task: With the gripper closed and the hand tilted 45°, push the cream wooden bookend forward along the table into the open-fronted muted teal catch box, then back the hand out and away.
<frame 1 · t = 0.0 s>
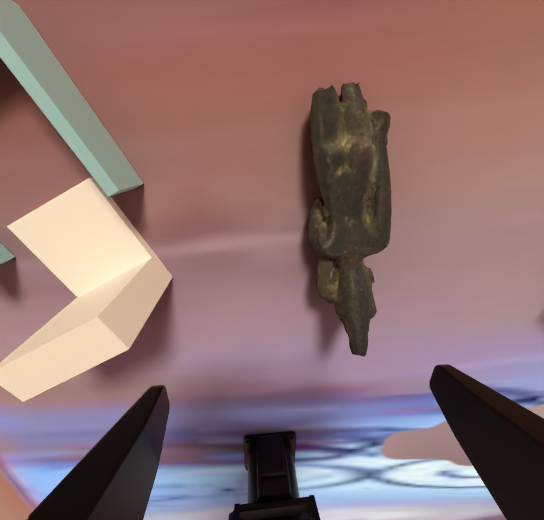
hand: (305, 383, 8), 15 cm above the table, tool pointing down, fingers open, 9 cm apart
catch box: (20, 162, 18), on the table
bookend: (99, 252, 21), on the table
statue: (338, 220, 22), on the table
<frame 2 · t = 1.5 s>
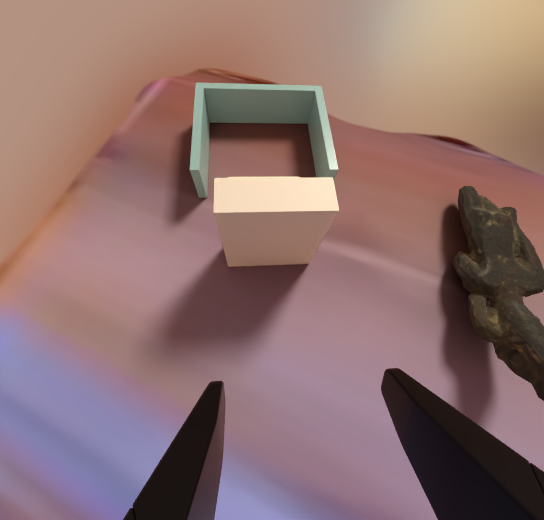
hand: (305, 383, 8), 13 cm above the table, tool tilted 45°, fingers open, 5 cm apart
catch box: (261, 159, 28), on the table
bookend: (266, 220, 25), on the table
statue: (473, 283, 24), on the table
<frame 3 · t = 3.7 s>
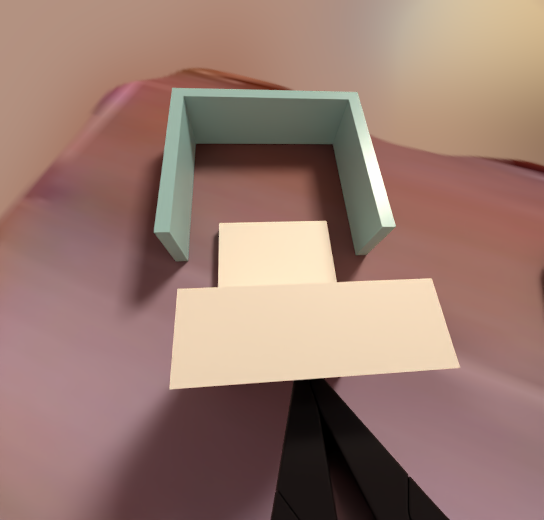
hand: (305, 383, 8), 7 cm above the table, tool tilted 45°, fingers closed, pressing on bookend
catch box: (269, 197, 19), on the table
bookend: (277, 291, 16), on the table, touching gripper
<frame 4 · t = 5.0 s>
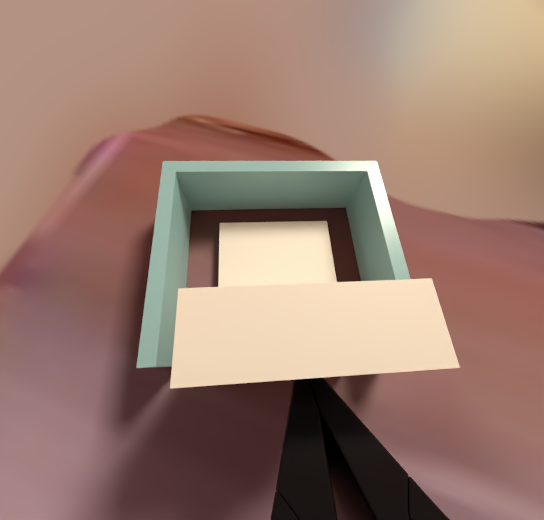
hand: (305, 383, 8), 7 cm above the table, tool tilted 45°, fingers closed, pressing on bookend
catch box: (275, 278, 17), on the table
bookend: (277, 291, 16), on the table, touching gripper
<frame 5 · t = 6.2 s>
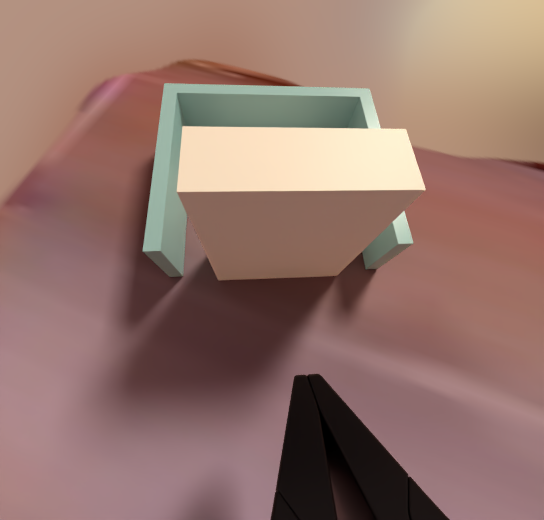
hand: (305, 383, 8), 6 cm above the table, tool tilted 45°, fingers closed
catch box: (272, 204, 18), on the table
bookend: (273, 212, 18), on the table
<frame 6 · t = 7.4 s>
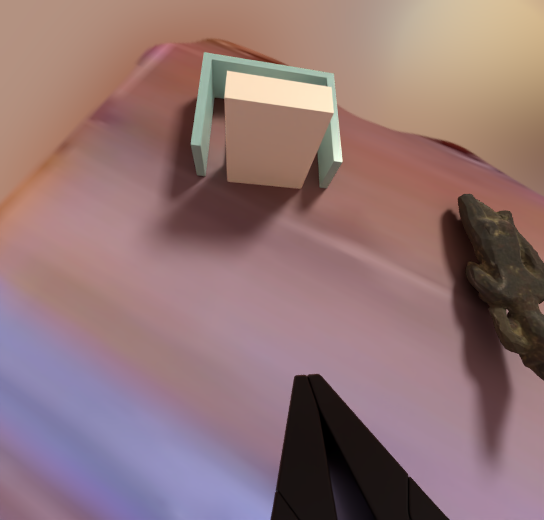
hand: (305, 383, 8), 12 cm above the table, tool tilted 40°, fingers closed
catch box: (265, 142, 27), on the table
bookend: (265, 147, 27), on the table
statue: (482, 288, 25), on the table
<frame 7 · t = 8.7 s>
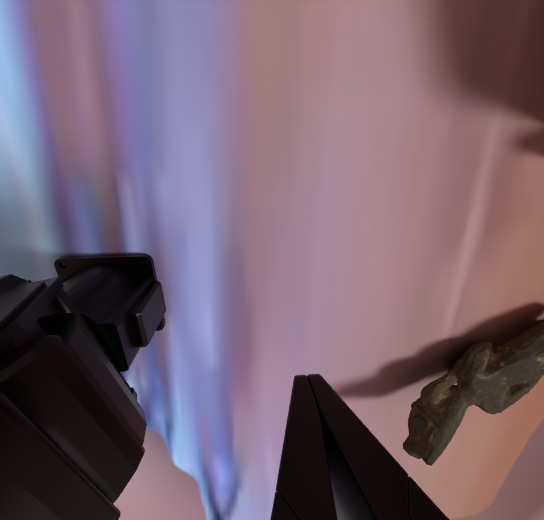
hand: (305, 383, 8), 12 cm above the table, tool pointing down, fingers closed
statue: (462, 358, 26), on the table
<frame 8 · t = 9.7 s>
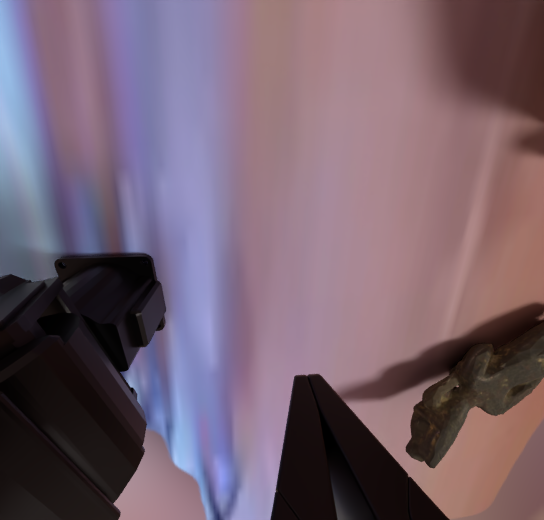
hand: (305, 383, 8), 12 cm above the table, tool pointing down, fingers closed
statue: (463, 359, 26), on the table
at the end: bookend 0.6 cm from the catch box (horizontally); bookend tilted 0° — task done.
